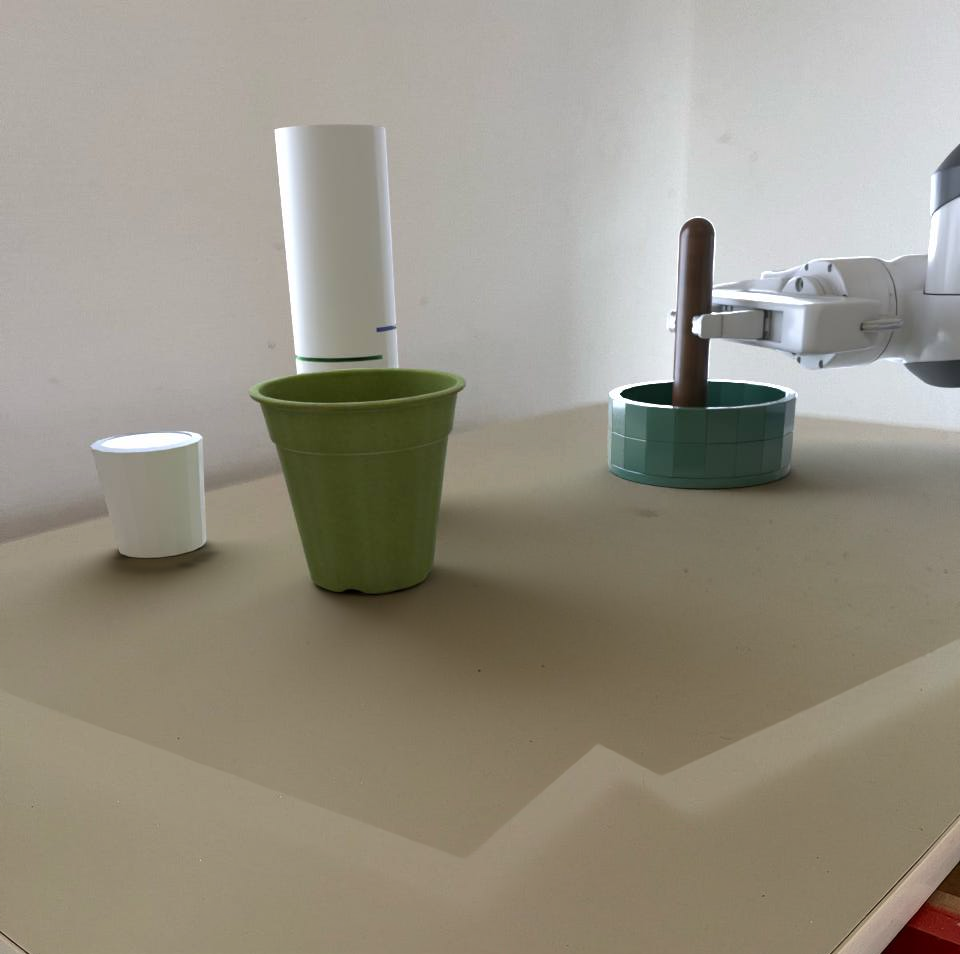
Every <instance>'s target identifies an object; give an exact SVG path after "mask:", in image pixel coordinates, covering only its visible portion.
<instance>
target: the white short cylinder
mask: <svg viewBox="0 0 960 954" xmlns="http://www.w3.org/2000/svg"><path fill="white" fill-rule="evenodd" d="M203 439H204V438H203V436H202V435H200V434H199V433H196V432H191V431H183V430H182V431H181V430H148V431H147V430H146V431H139V432H130V433H125V434H118V435H114V436H110V437H105V438H102V439H99V440H96V441H95V442H93V443H92V444H90V449H91V453H92V456H93V461H94V464H95V468H96V472H97V476H98V478H99V482H100V486H101V490H102V494H103V497H104V501H105V504H106V509H107V512H108V517H109V521H110V523H111V528H112V531H113V534H114V538H115V543H116V545H117V550H118V552H119V553H120V554H121V555H124V556H126V557H130V558H140V559H152V558H165V557H172V556H179V555H183V554H186V553H189V552H193V551H195V550H197V549H199V548H201V547H203V546H204V545H205V544H206V543H207V522H206V497H205V495H206V493H205V472H204V470H205V468H204V466H205V465H204V443H203V441H204V440H203Z"/></svg>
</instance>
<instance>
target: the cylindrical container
mask: <svg viewBox="0 0 960 954" xmlns="http://www.w3.org/2000/svg"><path fill="white" fill-rule="evenodd" d="M386 130H387V129H386V127H385V126H380V125H372V124H348V123H347V124H335V123H334V124H308V125H294V126H293V125H292V126H286V127H280V128H276V129H274V137H275V148H276V158H277V170H278V179H279V180H278V181H279V191H280V201H281V202H280V203H281V214H282V225H283V233H284V235H283V236H284V245H285V246H284V247H285V255H286V256H285V257H286V266H287V267H286V268H287V277H288V278H287V279H288V289H289V290H288V291H289V298H290V310H291V323H292V332H293V343H294V353H295V356H296V357H295V365H296V374H300V373H310V372H319V371H328V370H341V369H359V368H400V365H399V348H398V347H399V345H398V329H397V327H396V326H395V325H397V312H396V311H397V310H396V296H395V295H396V294H395V276H394V275H395V274H394V255H393V239H392V222H391V221H392V220H391V203H390V202H391V201H390V200H391V199H390V188H389V187H390V185H389V168H388V166H389V165H388V148H387V131H386Z"/></svg>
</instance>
